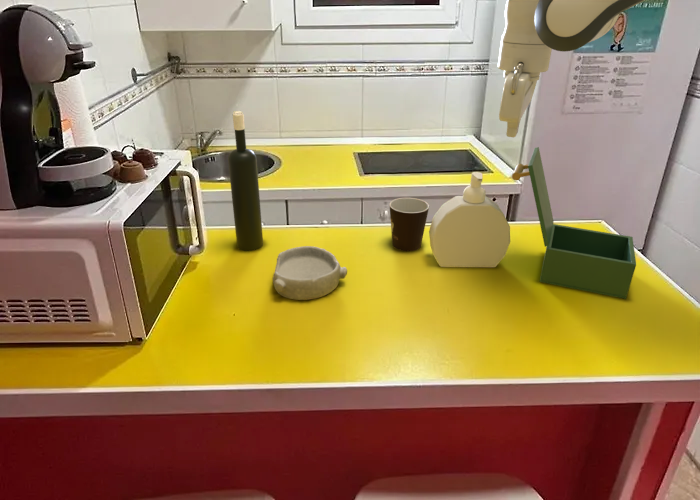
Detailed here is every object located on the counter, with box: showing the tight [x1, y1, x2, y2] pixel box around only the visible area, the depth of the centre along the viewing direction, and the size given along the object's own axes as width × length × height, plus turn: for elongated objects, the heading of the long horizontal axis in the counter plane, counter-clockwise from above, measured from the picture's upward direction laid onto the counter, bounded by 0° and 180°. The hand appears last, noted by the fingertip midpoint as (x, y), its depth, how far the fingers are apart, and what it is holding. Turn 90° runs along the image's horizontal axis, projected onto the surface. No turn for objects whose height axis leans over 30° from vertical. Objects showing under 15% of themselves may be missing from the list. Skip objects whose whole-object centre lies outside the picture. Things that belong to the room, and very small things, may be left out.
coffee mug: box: [388, 197, 430, 252], centre depth 116 cm, size 12×9×10 cm
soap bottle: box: [428, 171, 511, 268], centre depth 106 cm, size 16×5×20 cm, turn 90°
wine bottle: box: [227, 110, 264, 252], centre depth 109 cm, size 6×6×30 cm
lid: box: [511, 146, 555, 247], centre depth 103 cm, size 16×13×5 cm
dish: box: [272, 245, 348, 301], centre depth 101 cm, size 14×14×5 cm
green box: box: [539, 223, 637, 300], centre depth 104 cm, size 16×13×8 cm
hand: (511, 135), depth 99 cm, fingers closed
